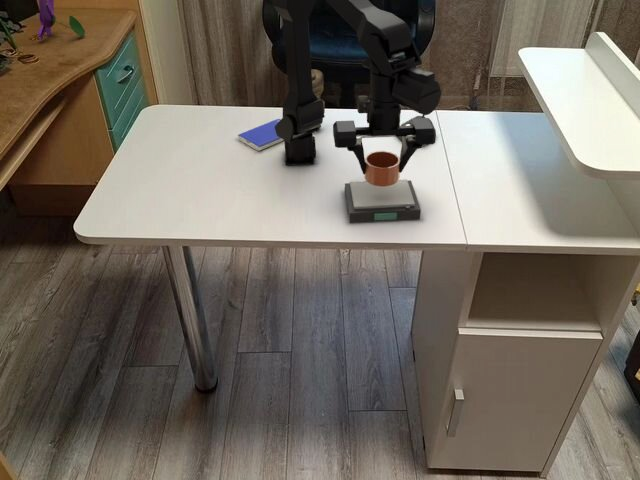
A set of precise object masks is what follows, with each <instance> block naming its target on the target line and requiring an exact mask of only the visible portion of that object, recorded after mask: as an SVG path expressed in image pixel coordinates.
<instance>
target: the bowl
mask: <svg viewBox="0 0 640 480" xmlns="http://www.w3.org/2000/svg"><path fill="white" fill-rule="evenodd" d="M364 159H365V168H366V170H365V174H363V175H364V181H367V182H368V183H369V184H372V185H375V186H381V187H385V186H391V185H393V184H395V183H397V181H398V180H400V174H401V173H400V155H398V154H396V153H394V152H393V151H392V152H391V151H388V150H376V151H372V152H370V153H368V154H366V156H364Z"/></svg>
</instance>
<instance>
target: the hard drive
mask: <svg viewBox="0 0 640 480" xmlns="http://www.w3.org/2000/svg"><path fill="white" fill-rule="evenodd" d="M281 119H282V118H276V119H274V120H271V121H269V122H266V123H264V124H261V125H258V126H256V127H254V128H251V129H249V130H246V131H243V132H241V133H239V134H237V139H238V141H240V142H242V143H244V144H246V145H247V146H249V147H251V148H252V149H254V150H256V151H257V152H260V151H261V150H264V149H267V148H270V147H271V146H275V145H277V144H279V143H280V142H284V140H283V139H282V138H280V137H278V136H277V134H276V131H275V125H276V124H277V123H278V122H279V121H280V120H281Z"/></svg>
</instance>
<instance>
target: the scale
mask: <svg viewBox="0 0 640 480" xmlns="http://www.w3.org/2000/svg"><path fill="white" fill-rule="evenodd" d="M344 198H345V203H346V210H347V215H348V222H349V224H363V223H381V222H382V223H384V222H401V221H419V220H421V212H422V210H421V207H420V202H419V200H418V197H417V194H416V191H415V188H414V186H413V182H412V180H411V179H410V180H408V179H405V178H404V179H399V180H398V181H397V183H395V184H393V185H391V186H385V187H381V186H375V185H372V184H369V183H368V182H367V181H366V180H361V181H359V180H358V181H349V182H346V183H344Z"/></svg>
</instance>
